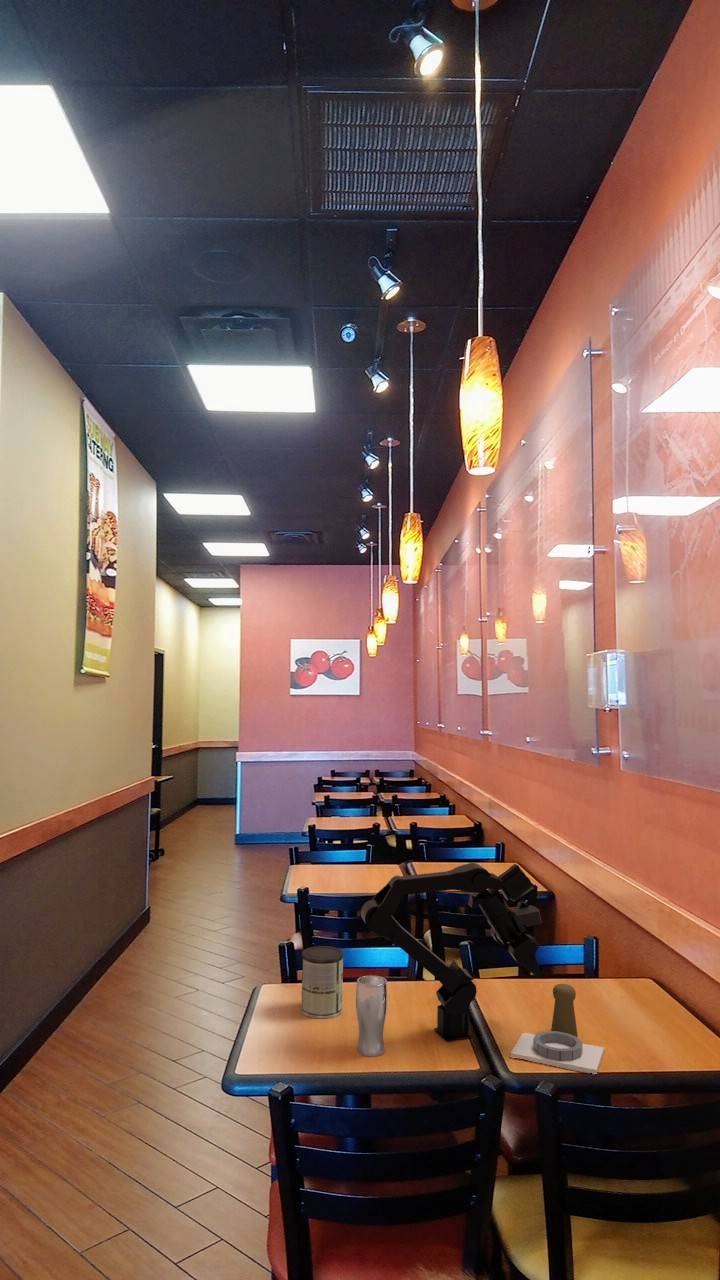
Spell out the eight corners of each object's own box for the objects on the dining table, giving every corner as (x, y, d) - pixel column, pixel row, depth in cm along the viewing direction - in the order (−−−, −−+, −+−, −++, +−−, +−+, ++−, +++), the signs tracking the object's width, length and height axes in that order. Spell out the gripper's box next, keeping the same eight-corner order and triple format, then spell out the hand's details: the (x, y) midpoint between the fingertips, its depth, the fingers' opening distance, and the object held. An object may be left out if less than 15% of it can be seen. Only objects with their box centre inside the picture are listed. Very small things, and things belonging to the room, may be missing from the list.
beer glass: (355, 1043, 180) (356, 974, 182) (386, 1044, 180) (387, 975, 181) (354, 1057, 174) (355, 985, 175) (386, 1058, 173) (387, 986, 174)
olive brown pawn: (571, 1041, 184) (571, 992, 184) (546, 1034, 187) (546, 985, 188) (581, 1033, 188) (581, 984, 189) (557, 1026, 192) (557, 979, 193)
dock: (510, 1057, 175) (510, 1043, 175) (522, 1037, 186) (522, 1023, 186) (596, 1074, 167) (596, 1059, 168) (604, 1052, 178) (604, 1038, 179)
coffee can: (296, 1005, 202) (297, 947, 203) (335, 1001, 206) (336, 944, 207) (306, 1021, 193) (308, 960, 194) (347, 1016, 196) (349, 956, 197)
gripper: (539, 902, 182) (575, 961, 182) (512, 884, 200) (545, 937, 200) (498, 931, 180) (535, 990, 180) (475, 909, 198) (509, 963, 199)
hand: (532, 968), depth 190 cm, fingers open, 9 cm apart
